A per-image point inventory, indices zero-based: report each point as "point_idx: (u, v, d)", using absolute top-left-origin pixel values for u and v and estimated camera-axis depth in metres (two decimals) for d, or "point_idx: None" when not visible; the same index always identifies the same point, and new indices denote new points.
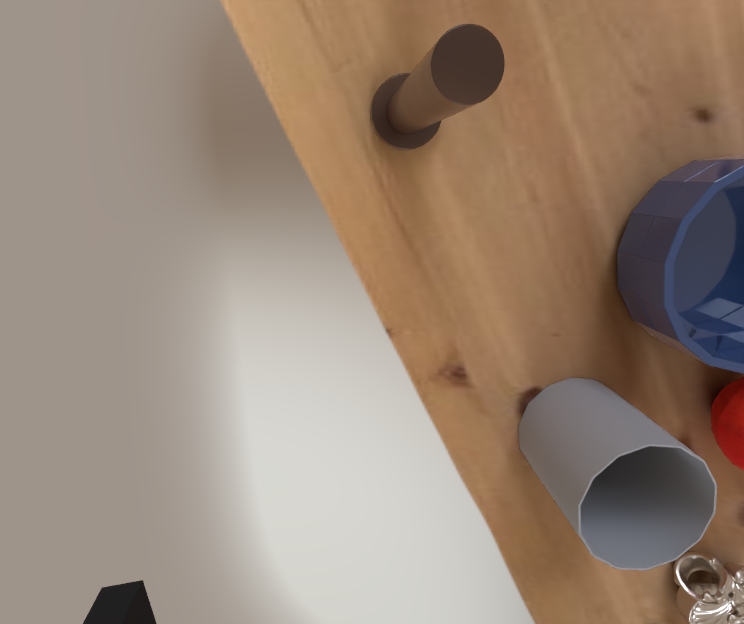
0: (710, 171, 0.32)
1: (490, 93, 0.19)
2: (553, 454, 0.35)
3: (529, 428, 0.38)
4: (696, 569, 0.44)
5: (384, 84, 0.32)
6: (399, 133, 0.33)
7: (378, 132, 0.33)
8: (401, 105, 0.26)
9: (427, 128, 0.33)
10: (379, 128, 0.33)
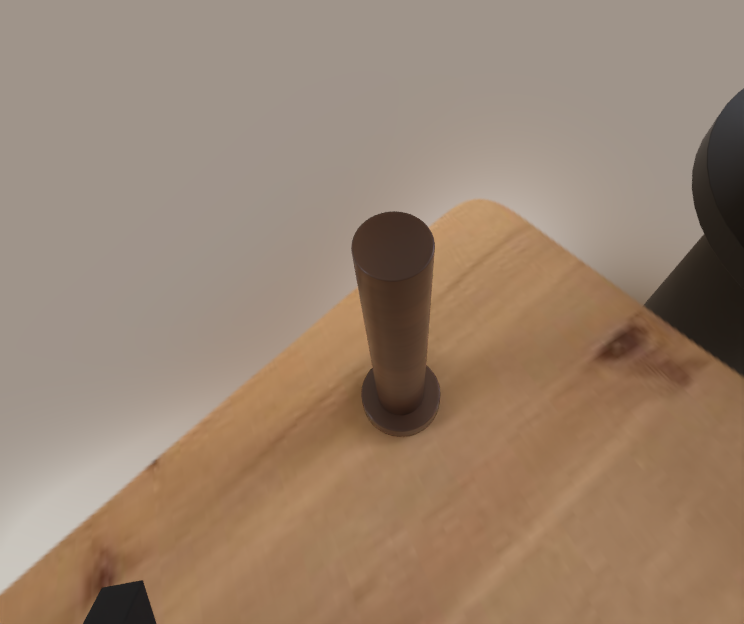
0: None
1: (373, 275, 0.16)
2: None
3: None
4: None
5: None
6: (376, 391, 0.30)
7: (370, 371, 0.31)
8: None
9: (391, 419, 0.29)
10: None
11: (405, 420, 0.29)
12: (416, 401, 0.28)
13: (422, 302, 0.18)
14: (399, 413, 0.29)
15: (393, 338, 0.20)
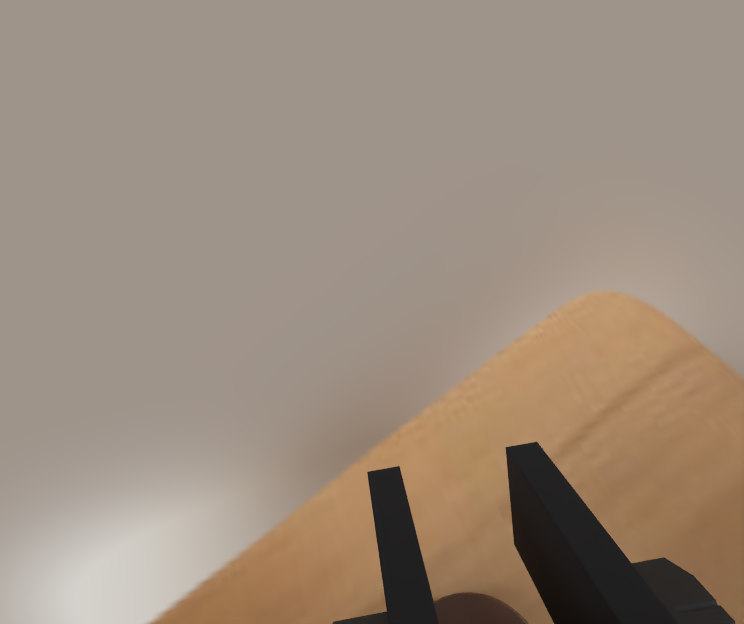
0: None
1: None
2: None
3: None
4: None
5: (511, 611, 0.16)
6: None
7: None
8: None
9: None
10: None
11: None
12: None
13: None
14: None
15: None
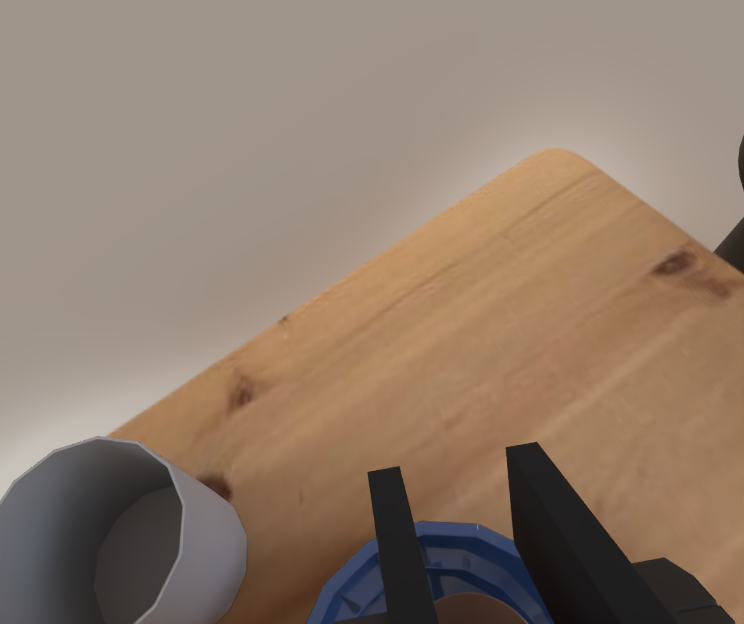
0: None
1: None
2: None
3: None
4: None
5: (510, 611, 0.16)
6: None
7: None
8: None
9: None
10: None
11: None
12: None
13: None
14: None
15: None
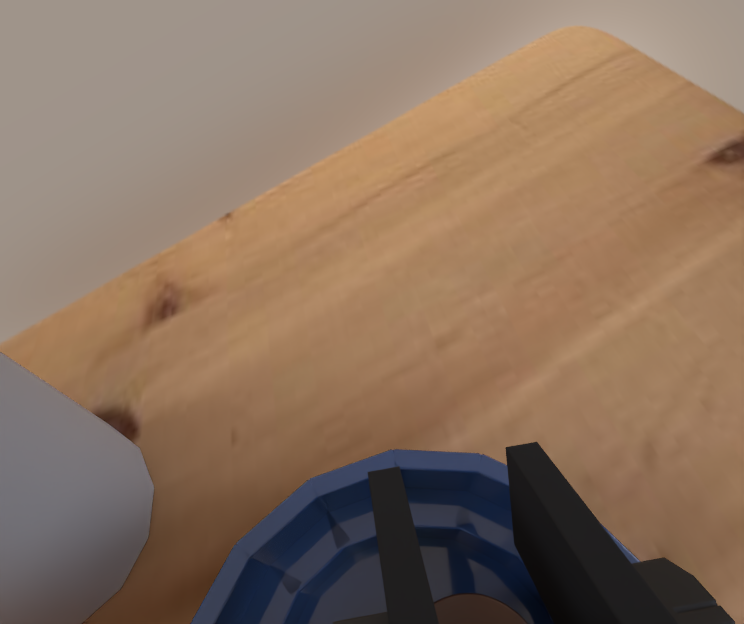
0: None
1: None
2: None
3: None
4: None
5: (511, 611, 0.16)
6: None
7: None
8: None
9: None
10: None
11: None
12: None
13: None
14: None
15: None
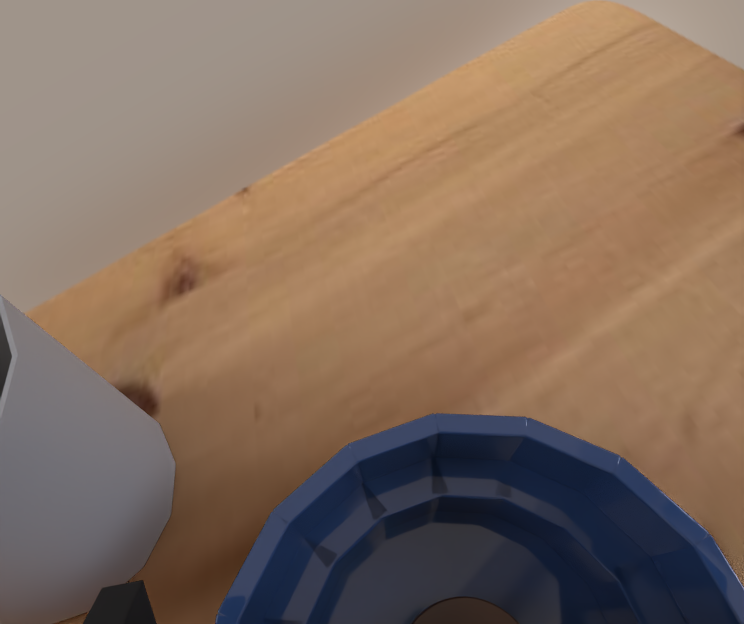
0: None
1: None
2: None
3: None
4: None
5: (505, 615, 0.16)
6: None
7: (414, 623, 0.16)
8: None
9: None
10: (423, 622, 0.16)
11: None
12: None
13: None
14: None
15: None
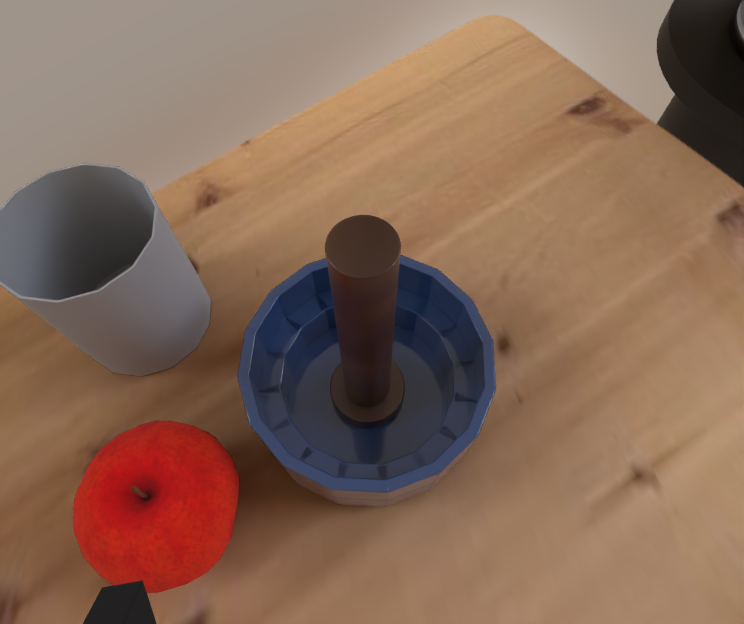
0: None
1: (341, 270, 0.18)
2: None
3: None
4: None
5: None
6: (344, 382, 0.32)
7: (341, 362, 0.32)
8: None
9: (355, 409, 0.31)
10: None
11: (368, 412, 0.31)
12: (380, 395, 0.30)
13: (386, 301, 0.20)
14: (363, 405, 0.31)
15: (358, 331, 0.22)
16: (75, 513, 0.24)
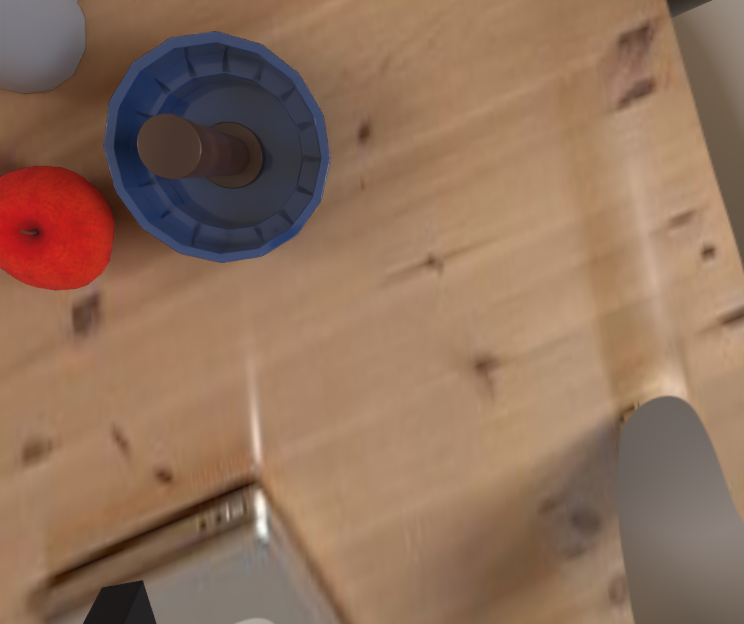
0: None
1: (148, 168, 0.22)
2: None
3: None
4: None
5: (251, 133, 0.36)
6: None
7: (209, 128, 0.36)
8: None
9: (217, 175, 0.37)
10: (213, 129, 0.36)
11: (227, 179, 0.37)
12: (235, 173, 0.35)
13: (198, 174, 0.25)
14: None
15: None
16: None
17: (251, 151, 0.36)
